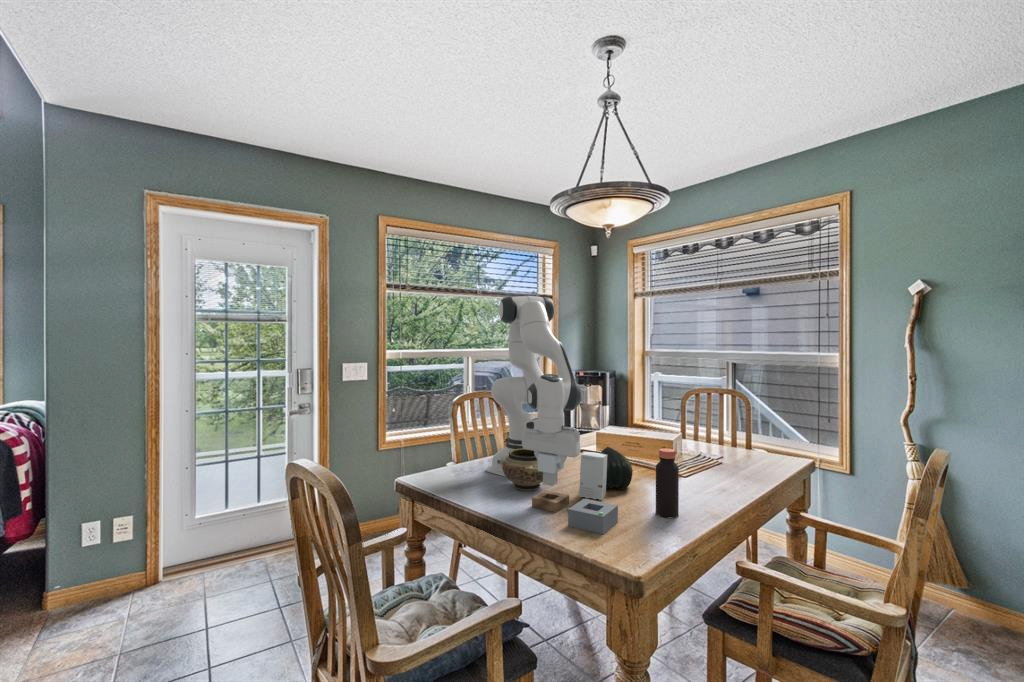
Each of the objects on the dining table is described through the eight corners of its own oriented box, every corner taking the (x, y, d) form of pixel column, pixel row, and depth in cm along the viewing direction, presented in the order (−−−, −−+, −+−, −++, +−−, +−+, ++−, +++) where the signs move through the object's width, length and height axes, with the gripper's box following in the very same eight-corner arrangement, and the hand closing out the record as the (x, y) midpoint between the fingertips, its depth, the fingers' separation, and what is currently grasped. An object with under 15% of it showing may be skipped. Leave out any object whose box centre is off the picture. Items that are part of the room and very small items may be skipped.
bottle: (660, 508, 158) (661, 446, 157) (681, 513, 153) (682, 449, 153) (652, 514, 152) (652, 450, 152) (673, 519, 148) (673, 453, 148)
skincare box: (579, 497, 169) (579, 454, 168) (583, 492, 174) (584, 450, 174) (603, 501, 165) (603, 456, 165) (607, 495, 171) (607, 453, 170)
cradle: (531, 507, 159) (531, 497, 159) (545, 499, 167) (545, 490, 167) (556, 512, 154) (556, 502, 154) (569, 504, 162) (569, 495, 162)
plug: (537, 484, 160) (537, 454, 160) (546, 479, 165) (546, 450, 165) (554, 487, 157) (554, 456, 157) (562, 482, 162) (562, 452, 162)
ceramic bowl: (498, 486, 189) (488, 450, 188) (537, 470, 196) (529, 435, 194) (524, 507, 167) (514, 466, 165) (568, 488, 174) (559, 448, 172)
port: (568, 526, 143) (568, 507, 143) (583, 514, 152) (584, 497, 152) (603, 534, 137) (603, 515, 137) (617, 521, 146) (617, 503, 146)
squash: (629, 481, 169) (630, 443, 178) (586, 479, 174) (589, 441, 183) (633, 499, 179) (634, 461, 188) (592, 496, 184) (595, 460, 193)
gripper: (584, 426, 157) (583, 469, 158) (529, 419, 169) (528, 459, 169) (575, 430, 152) (574, 474, 153) (519, 422, 163) (519, 463, 164)
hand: (550, 466), depth 161 cm, fingers closed on plug, 6 cm apart
